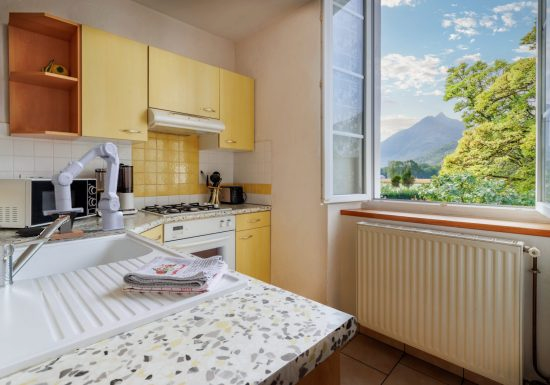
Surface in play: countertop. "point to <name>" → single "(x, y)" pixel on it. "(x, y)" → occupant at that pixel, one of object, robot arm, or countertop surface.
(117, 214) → the robot arm
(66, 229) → the charger block
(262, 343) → the countertop surface
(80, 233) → the socket plate
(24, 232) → the carrying case or bag
